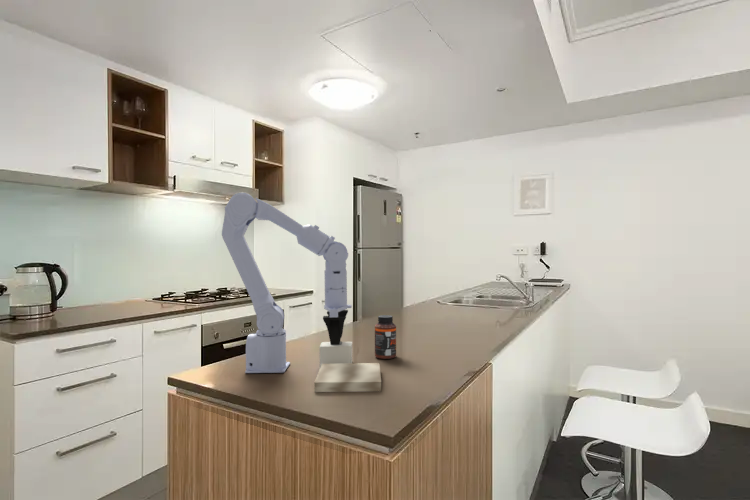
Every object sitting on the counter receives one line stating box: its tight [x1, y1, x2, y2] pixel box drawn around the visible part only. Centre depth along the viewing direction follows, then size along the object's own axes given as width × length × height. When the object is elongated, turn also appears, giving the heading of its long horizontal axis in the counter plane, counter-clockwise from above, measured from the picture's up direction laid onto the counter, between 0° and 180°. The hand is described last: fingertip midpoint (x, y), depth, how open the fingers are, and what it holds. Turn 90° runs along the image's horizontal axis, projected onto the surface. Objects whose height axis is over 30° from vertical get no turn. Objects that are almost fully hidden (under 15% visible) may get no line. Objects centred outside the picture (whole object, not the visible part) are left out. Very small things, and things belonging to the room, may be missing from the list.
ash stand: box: [313, 362, 382, 393], centre depth 93 cm, size 14×14×2 cm
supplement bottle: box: [374, 314, 397, 360], centre depth 113 cm, size 6×6×11 cm
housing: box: [319, 340, 353, 368], centre depth 106 cm, size 8×5×6 cm, turn 91°
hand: (336, 340), depth 106 cm, fingers open, 7 cm apart
